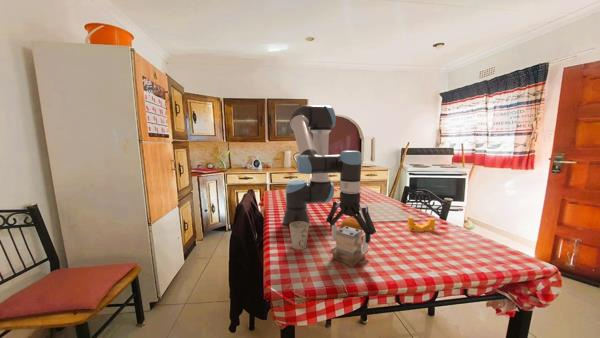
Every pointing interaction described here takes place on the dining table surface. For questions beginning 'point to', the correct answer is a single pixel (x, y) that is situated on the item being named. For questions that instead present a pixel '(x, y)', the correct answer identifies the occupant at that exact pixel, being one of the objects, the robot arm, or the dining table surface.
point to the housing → (348, 241)
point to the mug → (299, 234)
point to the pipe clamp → (420, 228)
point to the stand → (348, 257)
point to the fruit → (351, 224)
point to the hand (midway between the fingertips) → (348, 245)
